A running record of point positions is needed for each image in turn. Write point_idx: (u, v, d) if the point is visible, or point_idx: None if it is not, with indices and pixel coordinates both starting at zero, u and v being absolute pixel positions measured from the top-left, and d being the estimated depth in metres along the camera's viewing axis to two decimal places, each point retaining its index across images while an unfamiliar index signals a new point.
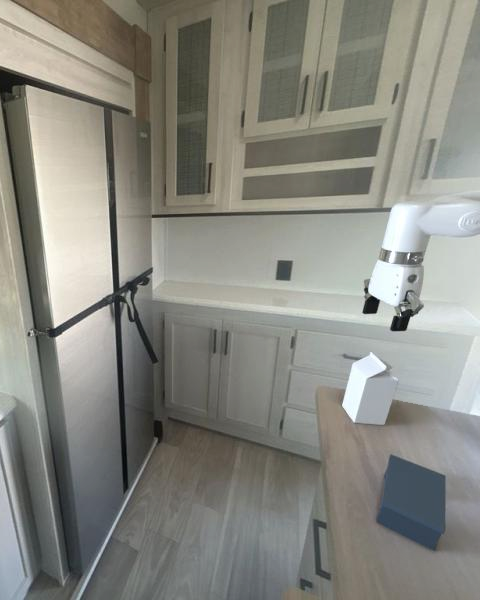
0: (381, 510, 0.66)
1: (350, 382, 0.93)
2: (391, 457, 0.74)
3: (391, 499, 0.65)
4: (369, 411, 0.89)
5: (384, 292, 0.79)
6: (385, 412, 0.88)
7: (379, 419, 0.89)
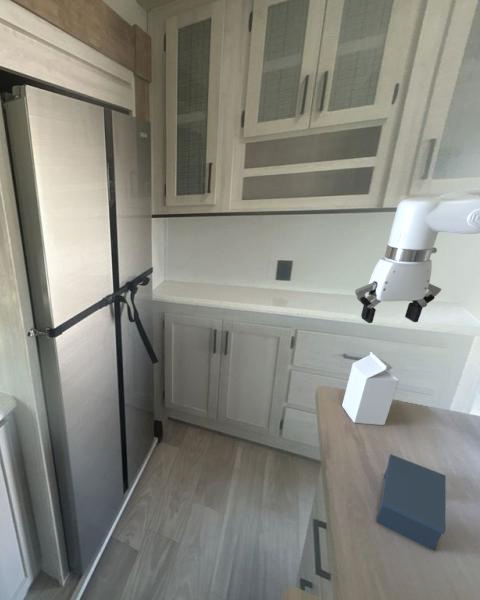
0: (381, 510, 0.66)
1: (350, 382, 0.93)
2: (391, 457, 0.74)
3: (391, 499, 0.65)
4: (369, 411, 0.89)
5: (410, 291, 0.77)
6: (385, 412, 0.88)
7: (379, 419, 0.89)
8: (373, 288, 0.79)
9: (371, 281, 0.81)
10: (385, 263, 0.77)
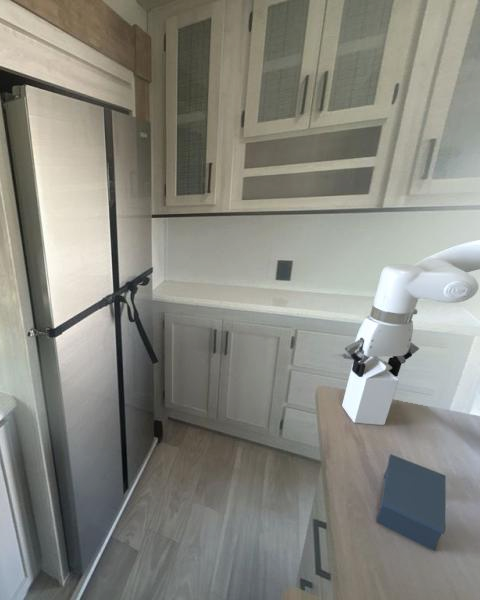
0: (381, 510, 0.66)
1: (350, 382, 0.93)
2: (391, 457, 0.74)
3: (391, 499, 0.65)
4: (369, 411, 0.89)
5: (394, 348, 0.82)
6: (385, 412, 0.88)
7: (379, 419, 0.89)
8: (361, 345, 0.85)
9: (358, 337, 0.86)
10: (371, 323, 0.82)
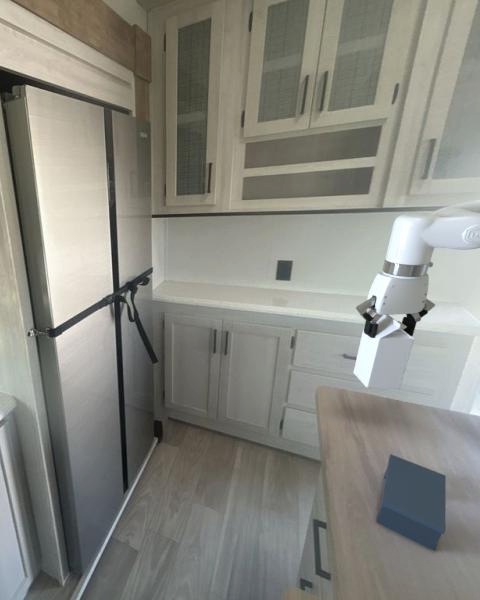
0: (381, 510, 0.66)
1: (362, 345, 0.88)
2: (391, 457, 0.74)
3: (391, 499, 0.65)
4: (383, 374, 0.84)
5: (409, 305, 0.78)
6: (400, 375, 0.83)
7: (393, 382, 0.84)
8: (373, 303, 0.80)
9: (370, 295, 0.81)
10: (383, 278, 0.78)
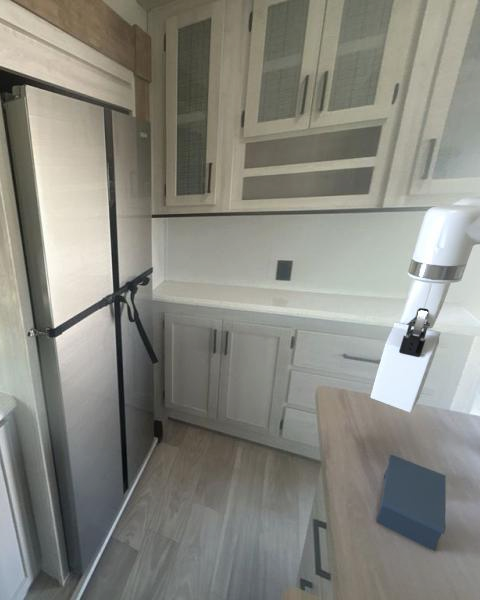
0: (381, 510, 0.66)
1: (386, 366, 0.74)
2: (391, 457, 0.74)
3: (391, 499, 0.65)
4: (419, 391, 0.73)
5: None
6: (423, 384, 0.74)
7: (419, 394, 0.75)
8: None
9: (413, 309, 0.66)
10: (436, 286, 0.63)
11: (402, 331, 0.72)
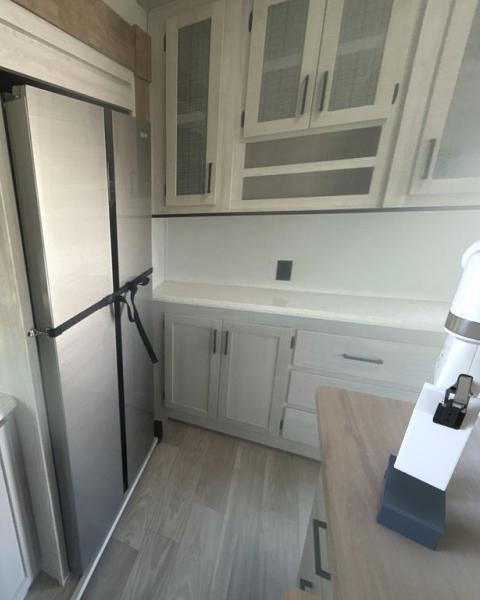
0: (381, 510, 0.66)
1: (415, 434, 0.61)
2: (391, 457, 0.74)
3: (391, 499, 0.65)
4: None
5: None
6: None
7: None
8: None
9: (453, 374, 0.53)
10: None
11: (435, 394, 0.60)
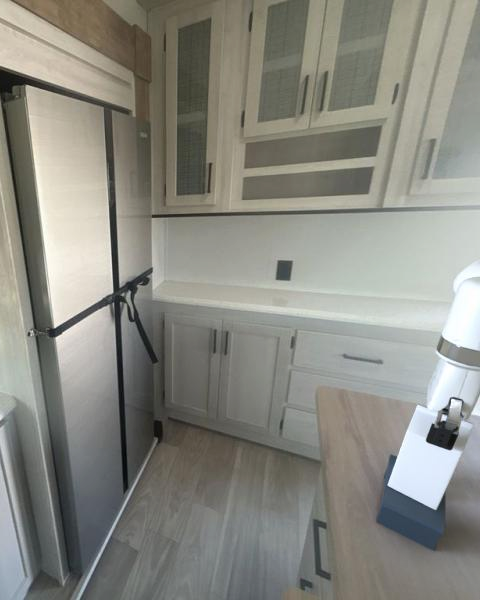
0: (381, 510, 0.66)
1: (407, 455, 0.63)
2: (391, 457, 0.74)
3: (391, 499, 0.65)
4: None
5: None
6: None
7: None
8: None
9: (444, 396, 0.55)
10: (473, 374, 0.52)
11: (426, 417, 0.62)
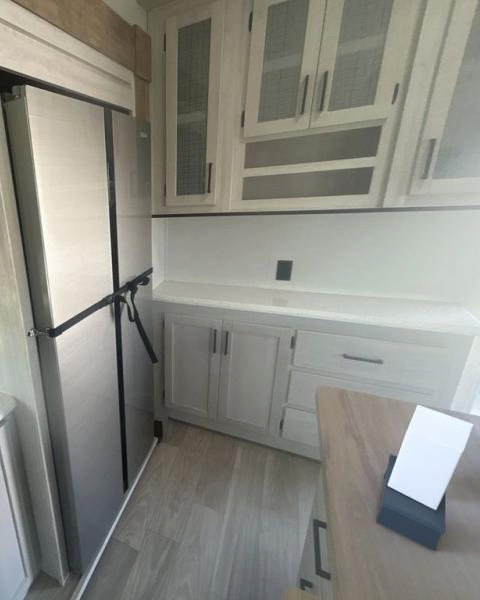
0: (381, 510, 0.66)
1: (407, 455, 0.63)
2: (391, 457, 0.74)
3: (391, 499, 0.65)
4: None
5: None
6: None
7: None
8: None
9: None
10: None
11: (426, 416, 0.62)
